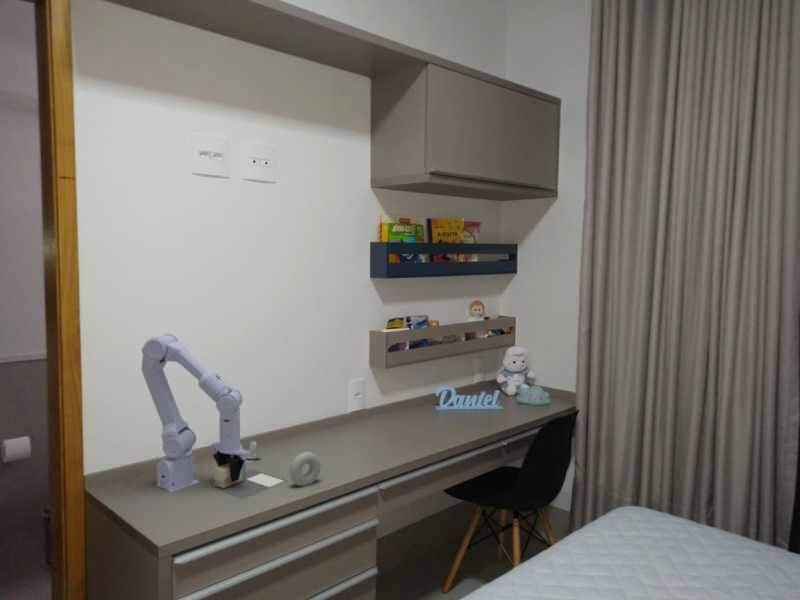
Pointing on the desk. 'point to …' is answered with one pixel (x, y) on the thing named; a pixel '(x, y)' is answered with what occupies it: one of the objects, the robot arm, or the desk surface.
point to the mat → (250, 484)
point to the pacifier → (252, 452)
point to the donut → (299, 463)
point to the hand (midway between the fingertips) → (230, 478)
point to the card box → (226, 476)
